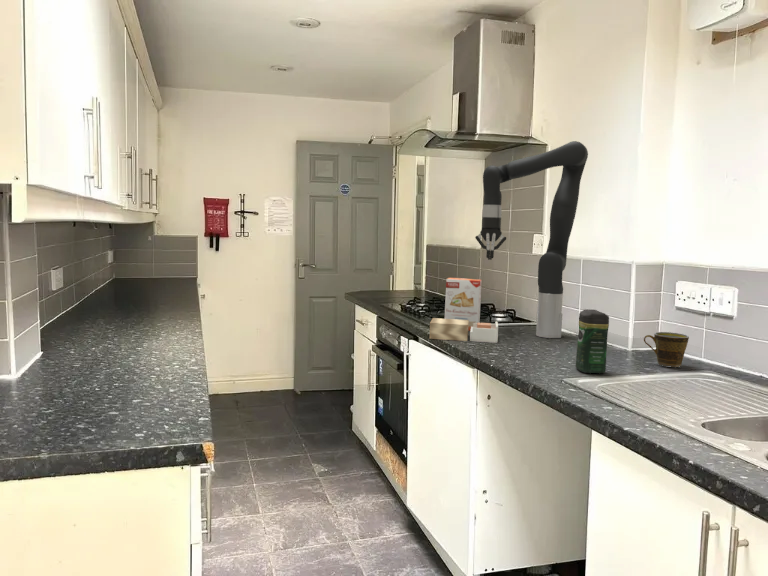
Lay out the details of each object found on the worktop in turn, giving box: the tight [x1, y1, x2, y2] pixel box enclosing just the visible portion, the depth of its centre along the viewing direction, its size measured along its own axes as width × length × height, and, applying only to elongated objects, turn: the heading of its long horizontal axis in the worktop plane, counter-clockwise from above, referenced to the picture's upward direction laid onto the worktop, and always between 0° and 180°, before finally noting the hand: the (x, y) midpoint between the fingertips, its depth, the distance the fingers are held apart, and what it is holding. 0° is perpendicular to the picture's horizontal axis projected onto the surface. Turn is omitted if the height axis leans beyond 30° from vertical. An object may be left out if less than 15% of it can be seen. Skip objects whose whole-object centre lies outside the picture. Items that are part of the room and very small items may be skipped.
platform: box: [429, 317, 469, 342], centre depth 232 cm, size 14×12×6 cm
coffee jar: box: [575, 308, 610, 374], centre depth 183 cm, size 10×8×19 cm
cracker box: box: [443, 277, 483, 332], centre depth 249 cm, size 14×6×21 cm, turn 75°
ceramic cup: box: [643, 331, 690, 367], centre depth 194 cm, size 13×10×10 cm
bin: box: [469, 321, 499, 344], centre depth 230 cm, size 10×12×6 cm
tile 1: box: [477, 322, 492, 329], centre depth 230 cm, size 5×5×2 cm
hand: (489, 259), depth 247 cm, fingers closed
